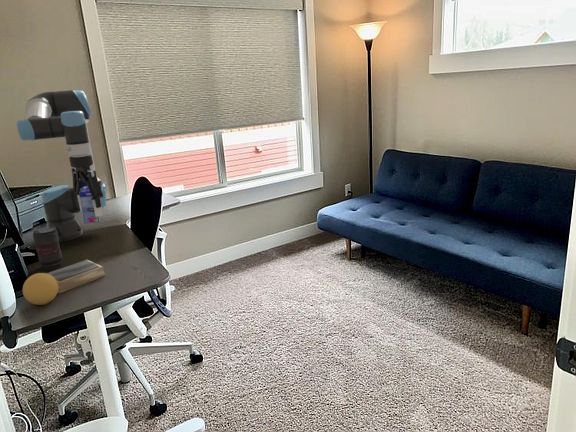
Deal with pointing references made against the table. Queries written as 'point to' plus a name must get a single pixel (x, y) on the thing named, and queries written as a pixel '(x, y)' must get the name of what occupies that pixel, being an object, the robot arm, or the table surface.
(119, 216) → the table surface
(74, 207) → the robot arm
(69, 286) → the plinth
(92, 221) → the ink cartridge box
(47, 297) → the stress ball
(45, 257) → the dark lidded jar
